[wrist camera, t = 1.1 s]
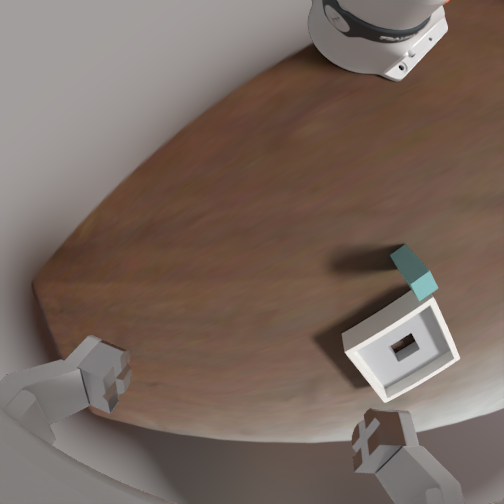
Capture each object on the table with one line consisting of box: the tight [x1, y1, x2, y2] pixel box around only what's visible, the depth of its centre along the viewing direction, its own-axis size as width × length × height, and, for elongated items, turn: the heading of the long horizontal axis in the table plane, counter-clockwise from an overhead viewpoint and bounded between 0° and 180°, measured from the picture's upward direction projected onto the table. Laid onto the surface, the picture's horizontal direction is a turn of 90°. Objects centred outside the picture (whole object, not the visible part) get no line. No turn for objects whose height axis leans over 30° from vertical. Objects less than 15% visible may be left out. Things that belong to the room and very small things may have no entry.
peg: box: [390, 244, 438, 301], centre depth 37 cm, size 3×3×10 cm
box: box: [342, 290, 460, 403], centre depth 44 cm, size 16×16×5 cm
